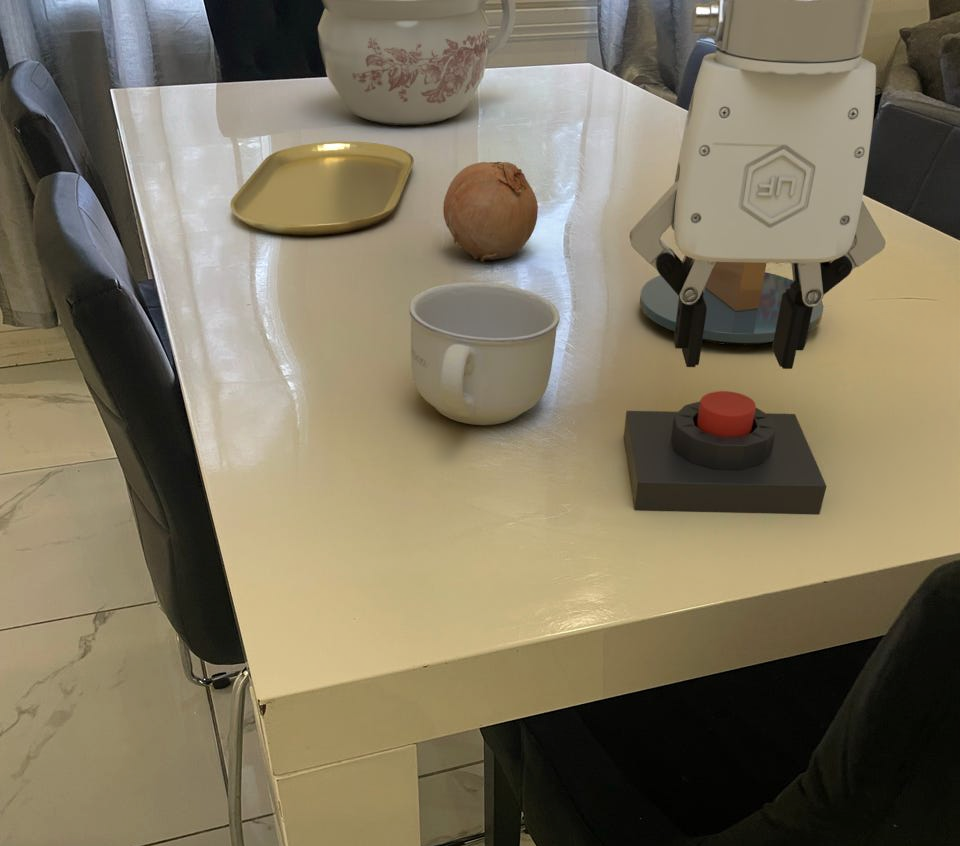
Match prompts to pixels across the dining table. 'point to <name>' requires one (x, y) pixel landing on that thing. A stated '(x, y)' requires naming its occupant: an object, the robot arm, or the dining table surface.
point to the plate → (724, 315)
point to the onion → (490, 210)
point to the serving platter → (323, 188)
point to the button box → (720, 465)
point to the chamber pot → (408, 55)
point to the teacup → (482, 350)
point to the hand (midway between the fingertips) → (735, 356)
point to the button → (726, 414)
